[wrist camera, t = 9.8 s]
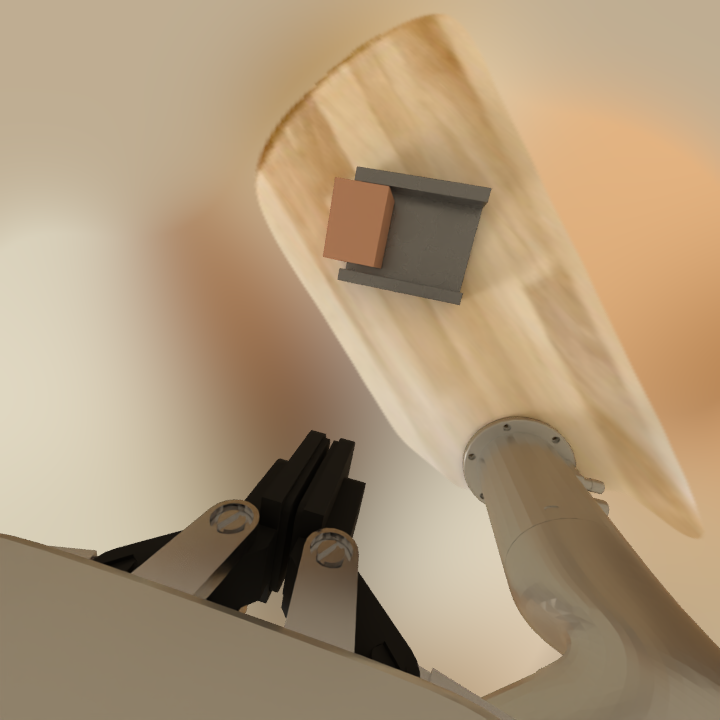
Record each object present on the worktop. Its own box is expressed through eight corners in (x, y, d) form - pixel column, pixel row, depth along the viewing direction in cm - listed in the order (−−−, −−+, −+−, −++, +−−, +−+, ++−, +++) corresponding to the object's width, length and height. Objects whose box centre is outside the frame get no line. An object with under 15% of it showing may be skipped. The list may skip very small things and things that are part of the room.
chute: (483, 198, 35) (491, 188, 31) (455, 302, 38) (459, 305, 34) (363, 178, 36) (356, 166, 33) (345, 279, 39) (337, 279, 35)
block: (394, 201, 35) (389, 186, 29) (380, 268, 37) (373, 266, 31) (349, 193, 36) (335, 177, 30) (338, 260, 38) (322, 256, 32)
